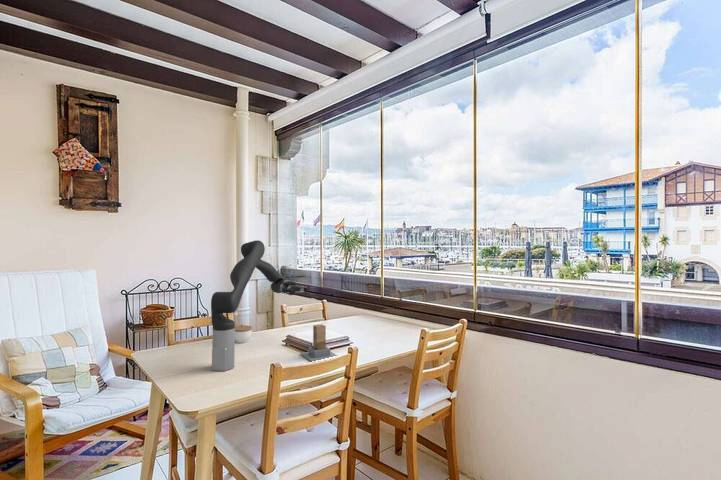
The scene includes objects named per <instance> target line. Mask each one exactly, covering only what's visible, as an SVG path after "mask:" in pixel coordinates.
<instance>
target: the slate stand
mask: <svg viewBox="0 0 721 480" xmlns="http://www.w3.org/2000/svg"><path fill="white" fill-rule="evenodd" d="M307 349H308V350H307V351H306V352H305V351H304V352H300V353H299V354H300V356H301V357H303V358H305V359H306V360H307V361H308V362H310V363H311V362H312V361H316V360H321V359H325V358H329V357H333V356H338V355H337V354H335V353H333V352H332V351H331V348H329V347H327V346H326V349H323V350H315V349H313V346H309V347H308V348H307ZM312 363H313V362H312Z"/></svg>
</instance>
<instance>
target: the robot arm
mask: <svg viewBox="0 0 721 480" xmlns="http://www.w3.org/2000/svg"><path fill="white" fill-rule="evenodd" d="M265 250H266V249H265V244H264V243H263V241H261V240H258V239H257V240H253V241H249V242H244V243H243V244H242V245H241V247H240V254H241V255H242V257H243V258H242V259H240V260H239V261H238V262H237V263H236V264H235V265H234V267H233V268H232V270H231V273H230V275H229V277H230V281H231V284H232V287H233V289H232V291H215V292H214V293H213V294H212V295H211V296H212V297H211V300H210V313H211V324H212V341H211V342H212V349H211V371H217V372H218V371H221V372H225V371H226V372H227V371H228V370H231V369H233V368H235V345H236V344H235V343H236V341H235V326H236V324H235V321H234V320H233V319H230V318H228V317H227V316H225V315H224V314H234V313H235V312H236V311H237V310H238V307H239V305H240V303H241V300H242V298H243V294H244V291H245V289H246V288H247V285H248V283H249V281H250V279H251V277H252V275H253V273H254V272H255V269H257V270H258V271H259V272H260V273H261V274H263V276H264V278H266V280H267V281H268V282H270V283H271V284H270V289H271V291H272V292H274V293H275V294H281V293H283V294H286V295H289V296H293V295H296V294H297V293H308V292H309V291H310V287H309V286H307V285H298V283H297V282H296V281H292V280H290V279H288V278H287V277H286V276H284V275H282V274H281V273H279V272H278V271H277V269H276V268H275V266H273V265H272V264H271V263H269V262H268V261H265V260H263V259H262V258H263V257H264V254H265Z"/></svg>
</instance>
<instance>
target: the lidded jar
mask: <svg viewBox="0 0 721 480" xmlns="http://www.w3.org/2000/svg"><path fill="white" fill-rule="evenodd" d="M252 334H253V327H252V326H251V325H245V324H243V323H242V324H241V325H235V343H236V344H244V343H248V342H249V340H250V339H251V337H252Z"/></svg>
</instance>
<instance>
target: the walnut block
mask: <svg viewBox="0 0 721 480" xmlns="http://www.w3.org/2000/svg"><path fill="white" fill-rule="evenodd" d="M326 329H327V328H326V325H324V324H323V323H322V324H315V325H314V324H313V326H312V331H313V332H312V333H313V334H312V335H313V336H312V345H313V346H312V347H313V349H315V350H323V349H326V347H327V346H326V345H327V344H326V340H327V338H326V335H327V334H326V332H327V330H326Z"/></svg>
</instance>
